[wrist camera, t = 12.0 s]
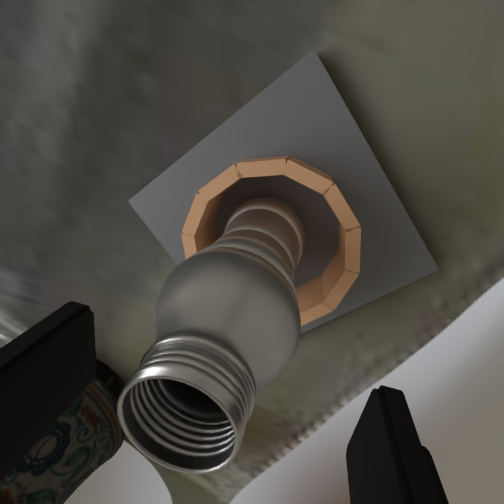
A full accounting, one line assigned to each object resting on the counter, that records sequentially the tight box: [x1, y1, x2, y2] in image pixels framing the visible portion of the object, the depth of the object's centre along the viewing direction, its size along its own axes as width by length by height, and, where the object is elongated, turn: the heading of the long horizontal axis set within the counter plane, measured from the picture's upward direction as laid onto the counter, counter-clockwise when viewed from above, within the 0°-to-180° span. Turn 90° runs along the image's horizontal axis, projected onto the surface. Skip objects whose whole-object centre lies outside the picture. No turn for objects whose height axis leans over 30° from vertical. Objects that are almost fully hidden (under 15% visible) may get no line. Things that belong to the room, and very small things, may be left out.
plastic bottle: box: [117, 197, 306, 475], centre depth 17 cm, size 6×7×20 cm
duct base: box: [128, 49, 439, 334], centre depth 25 cm, size 20×20×6 cm
